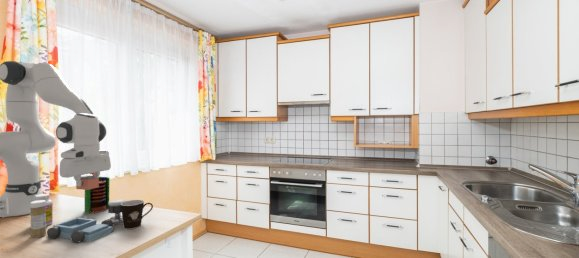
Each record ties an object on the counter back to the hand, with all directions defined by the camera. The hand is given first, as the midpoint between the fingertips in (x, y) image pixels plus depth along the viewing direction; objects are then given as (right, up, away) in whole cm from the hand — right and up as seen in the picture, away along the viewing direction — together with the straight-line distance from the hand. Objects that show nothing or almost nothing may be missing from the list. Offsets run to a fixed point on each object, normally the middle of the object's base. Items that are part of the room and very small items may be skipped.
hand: (87, 184), depth 118 cm
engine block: (0, -2, 0) cm, 2 cm away
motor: (-11, -17, +21) cm, 29 cm away
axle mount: (+10, -18, +5) cm, 21 cm away
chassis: (+3, -18, -8) cm, 20 cm away
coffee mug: (+20, -18, +1) cm, 27 cm away
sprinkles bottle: (-11, -18, -10) cm, 24 cm away
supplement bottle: (-20, -18, 0) cm, 26 cm away
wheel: (+10, -13, +5) cm, 17 cm away
